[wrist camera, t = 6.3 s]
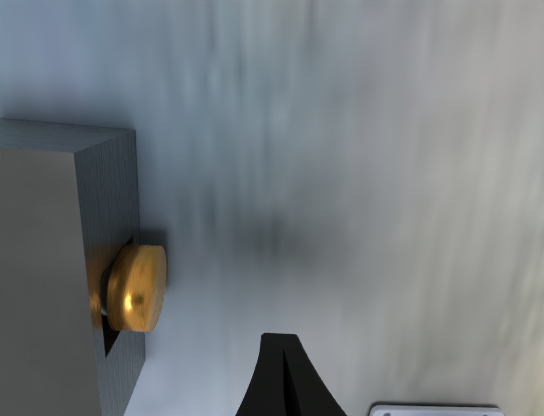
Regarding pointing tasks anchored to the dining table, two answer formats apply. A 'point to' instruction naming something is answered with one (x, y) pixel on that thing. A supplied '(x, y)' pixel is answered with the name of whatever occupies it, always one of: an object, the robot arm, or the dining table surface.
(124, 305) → the lynch pin
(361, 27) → the dining table surface
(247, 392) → the robot arm
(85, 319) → the hitch beam
